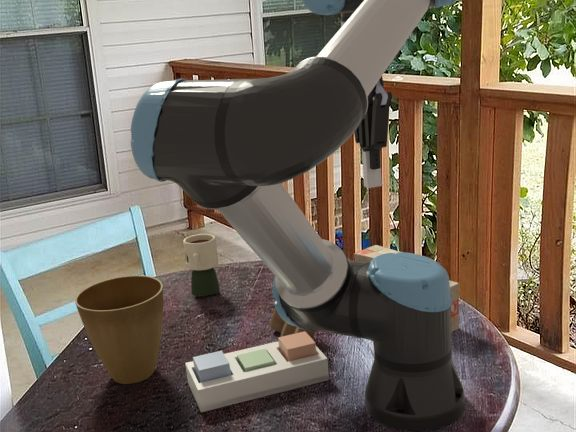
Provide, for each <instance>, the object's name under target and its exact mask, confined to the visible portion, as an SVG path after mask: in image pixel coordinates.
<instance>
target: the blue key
mask: <svg viewBox="0 0 576 432" xmlns="http://www.w3.org/2000/svg"><path fill="white" fill-rule="evenodd" d="M224 354H225V353H224V352H223V350H218V351H214V352H209V353H205V354H201V355H196V356H192V361H193V363H194V370H195V376H196V378H197V380H198V382H199V383H202V382H206V381H210V380H214V379H218V378H223V377H227V376H231V372H230V364H229V362H228V360H227V358H226V357H225V355H224Z"/></svg>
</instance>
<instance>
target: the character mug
mask: <svg viewBox="0 0 576 432" xmlns="http://www.w3.org/2000/svg"><path fill="white" fill-rule="evenodd" d="M182 243H183V250H184V257H185V258H184V259H185V266H186V267H187V268H188V269H189V270H192V271H191V278H190V279H191V283H190V284H191V286H190V287H191V289H190V290H191V295H192V296H195V297H206V296H211V295H215V294H218V293H219V292H220V290H221V288H220V284H219V280H218V275H217V271H216V269H215V267H217V266H218V265H219V256H218V247H217V239H216V236H215V235H213V234H210V233H199V234H194V235H189V236H187V237H185V238H184V239H183V241H182Z"/></svg>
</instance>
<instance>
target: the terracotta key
mask: <svg viewBox="0 0 576 432" xmlns="http://www.w3.org/2000/svg"><path fill="white" fill-rule="evenodd" d="M277 342H278V343H279V352H280V353H281V355H282V356H283V357H284V359H285V360H286V361H287V362H289V361H293V360H297V359H301V358H305V357H309V356H313V355H316V346H317V345H316V341H314V339H312V338H311V337H310V336H309V335H308V334H307V333H306V332H305V331H304V332H300V333H296V334H291V335H287V336H283V337H281V336H279V337H277Z"/></svg>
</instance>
